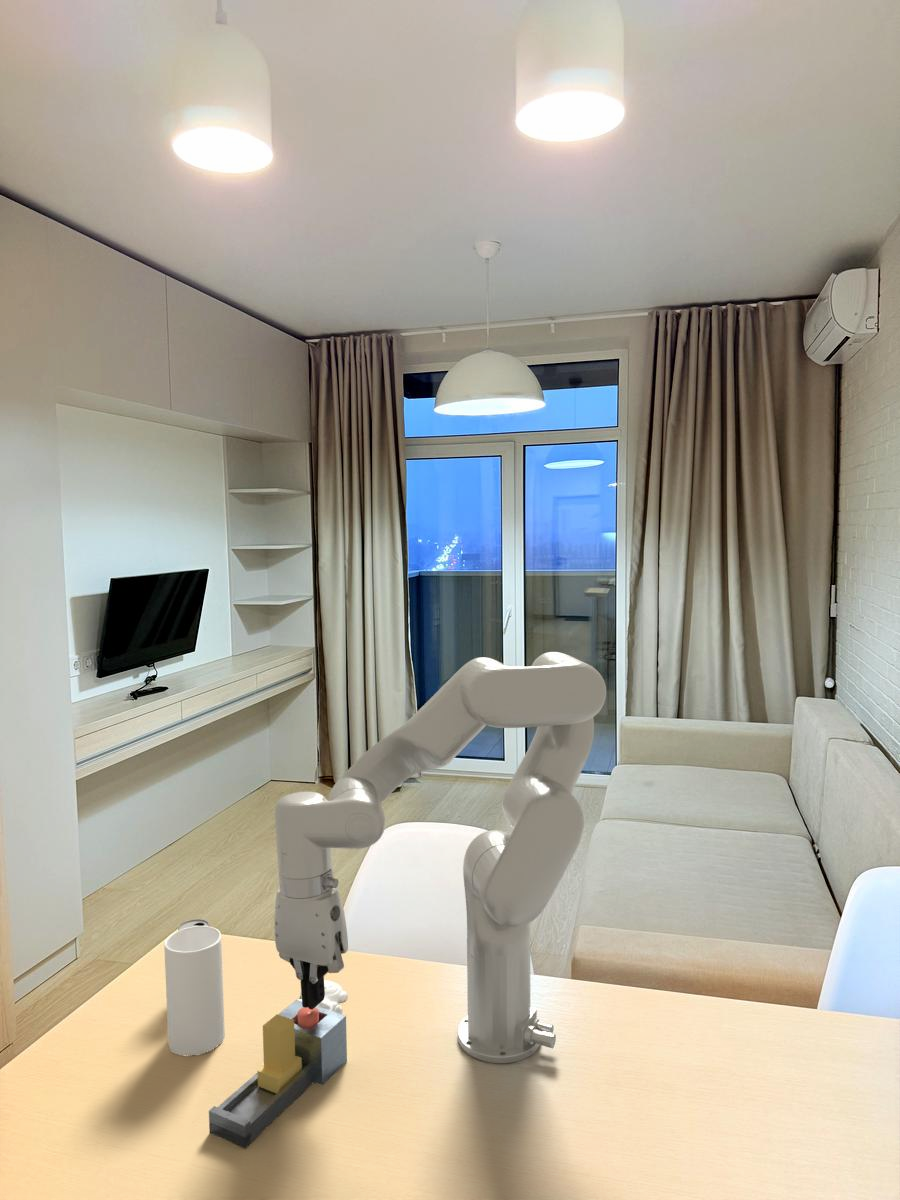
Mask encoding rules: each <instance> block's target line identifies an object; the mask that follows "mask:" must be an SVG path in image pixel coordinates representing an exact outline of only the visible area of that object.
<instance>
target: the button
mask: <svg viewBox="0 0 900 1200" xmlns="http://www.w3.org/2000/svg"><path fill="white" fill-rule="evenodd" d="M318 1023H319V1010H318V1009H317V1008H316V1007H315V1008H314V1009H309V1008H308V1007H307V1008H305V1007H304V1008H301V1009H300V1010H299V1011H298V1025H300V1026H303V1027H306V1028H309V1029H312V1028H313V1027H314V1026H315V1025H316V1024H318Z"/></svg>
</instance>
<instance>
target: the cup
mask: <svg viewBox="0 0 900 1200" xmlns="http://www.w3.org/2000/svg"><path fill="white" fill-rule="evenodd" d="M163 946H164V947H163V948H164V964H165V965H164V969H165V971H164V972H165V989H166V991H165V992H166V993H165V994H166V1016H167V1019H166V1020H167V1039H168V1040H167V1042H168V1048H169V1050H170V1051H171V1052H172V1053H173V1054H175V1055H177V1054H179V1055H178V1056H181V1055H186V1056H185V1057H193V1056H192V1055H196V1056H199V1055H198V1054H201V1055H203V1053H204V1054H206V1053H205V1052H207V1051H209V1052H211V1051H213V1050H214V1049H213V1048H215V1047H216V1046H217V1045H219V1044H220V1043H221V1042H222V1043H223V1041H224V1040H223V1039H225V1037H224V1036H226V1031H225V1030H226V1029H225V1004H224V1002H225V1001H224V1000H225V998H224V979H223V978H224V975H223V974H224V973H223V972H224V971H223V949H222V948H223V947H222V946H223V945H222V933H221V931H220V930H219V929H217V928H215V927H212V926H210V927H209V926H193V927H188V928H184V929H181V930H178V929H177V930H176V931H174V932H173V933H171V934H169V935H168V936H167V938H165V940H164V945H163ZM222 1043H221V1044H222ZM221 1044H220V1045H221ZM220 1045H219V1046H220ZM217 1047H218V1046H217ZM217 1047H216V1048H217ZM216 1048H215V1049H216ZM212 1049H213V1050H212ZM210 1050H211V1051H210ZM207 1053H208V1052H207ZM187 1055H188V1056H187ZM189 1055H191V1056H189Z"/></svg>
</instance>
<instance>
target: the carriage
mask: <svg viewBox="0 0 900 1200" xmlns="http://www.w3.org/2000/svg"><path fill="white" fill-rule="evenodd" d="M278 1014H279V1013H277V1014H275V1015H274V1016H273V1017H271V1018H270V1019H269V1020H268V1021H266V1022H265V1023H264V1024H263V1025H262V1043H263V1046H262V1048H263V1066H262V1067H260V1068H259V1069H258V1070H257V1072H256V1073H258V1086H259V1087H261V1088H264V1089H266V1090H269V1091H271V1092H274V1093H278V1092H279V1091H280V1090H281V1089H282V1088H283V1087H284V1086H285V1085H286V1084H288V1083H289V1082H290V1081H291V1080H292V1079H293V1078H294V1077H295V1076H296V1075H297V1074H298V1073H299V1072H300V1071H302V1058H301V1057H298V1056H295V1034H294V1020H293V1019H290V1018H287V1017H284V1016H281V1015H278Z"/></svg>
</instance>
